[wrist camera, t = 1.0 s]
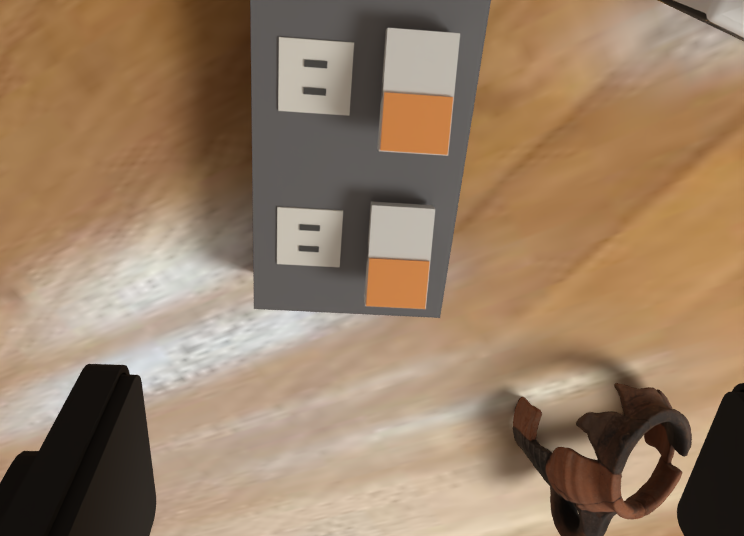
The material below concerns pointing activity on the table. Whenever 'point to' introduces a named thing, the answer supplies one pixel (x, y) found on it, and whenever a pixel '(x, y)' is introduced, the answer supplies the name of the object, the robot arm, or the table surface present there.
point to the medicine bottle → (715, 13)
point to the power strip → (344, 146)
